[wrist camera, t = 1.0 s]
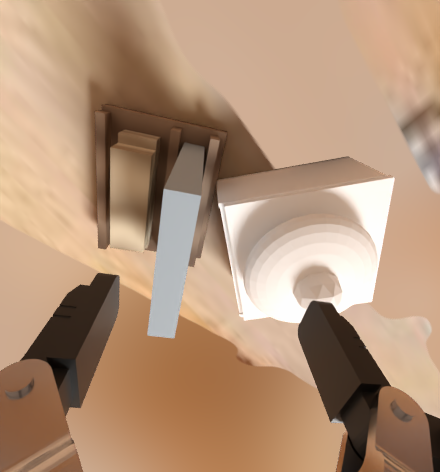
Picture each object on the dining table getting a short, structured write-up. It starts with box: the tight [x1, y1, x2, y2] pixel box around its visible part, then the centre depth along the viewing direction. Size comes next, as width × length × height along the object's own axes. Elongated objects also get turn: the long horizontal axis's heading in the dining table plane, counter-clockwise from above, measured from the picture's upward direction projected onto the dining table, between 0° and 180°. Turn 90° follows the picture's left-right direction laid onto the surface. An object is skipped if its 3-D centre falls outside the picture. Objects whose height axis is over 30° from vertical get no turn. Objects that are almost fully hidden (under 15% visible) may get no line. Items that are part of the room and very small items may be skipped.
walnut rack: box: [95, 104, 227, 267], centre depth 32 cm, size 18×14×4 cm
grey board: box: [148, 142, 205, 338], centre depth 26 cm, size 14×2×16 cm, turn 168°
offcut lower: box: [118, 130, 160, 248], centre depth 31 cm, size 14×4×2 cm, turn 168°
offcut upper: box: [110, 143, 156, 253], centre depth 29 cm, size 12×4×2 cm, turn 168°
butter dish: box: [216, 157, 395, 323], centre depth 31 cm, size 18×18×16 cm
